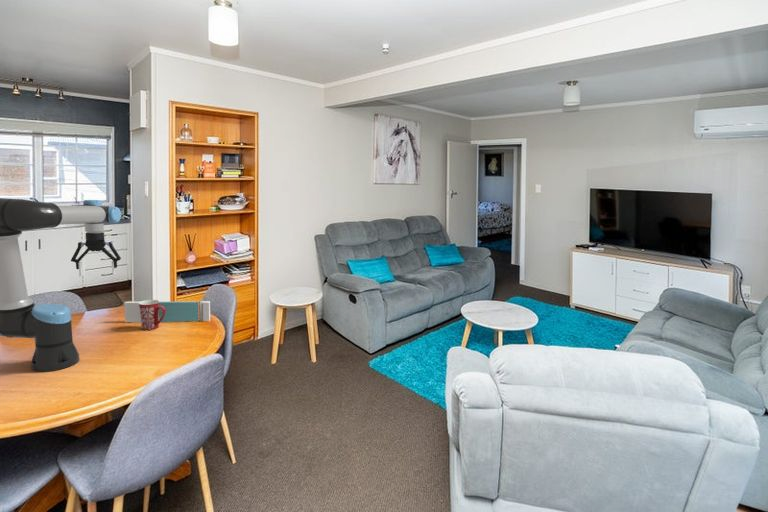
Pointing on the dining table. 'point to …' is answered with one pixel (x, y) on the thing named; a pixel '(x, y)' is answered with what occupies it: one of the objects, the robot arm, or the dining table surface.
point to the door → (179, 311)
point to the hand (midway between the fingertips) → (97, 275)
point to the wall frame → (134, 315)
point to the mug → (150, 314)
